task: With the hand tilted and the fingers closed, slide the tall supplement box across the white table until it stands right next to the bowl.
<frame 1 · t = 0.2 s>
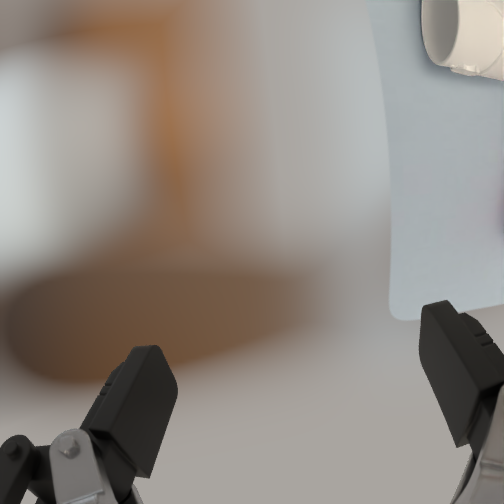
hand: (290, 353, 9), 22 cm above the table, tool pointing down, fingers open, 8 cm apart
mug: (458, 28, 21), on the table
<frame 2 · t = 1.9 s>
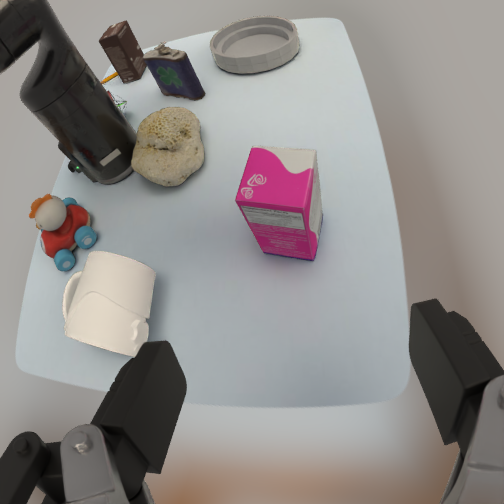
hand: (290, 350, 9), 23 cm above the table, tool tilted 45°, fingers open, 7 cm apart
supplement box: (292, 234, 36), on the table
box: (137, 73, 56), on the table
decorative item: (176, 157, 44), on the table
mug: (123, 311, 37), on the table
flask: (184, 93, 50), on the table
bowl: (257, 51, 50), on the table
pencil: (123, 69, 57), point 1 cm above the table
toy car: (73, 237, 43), on the table
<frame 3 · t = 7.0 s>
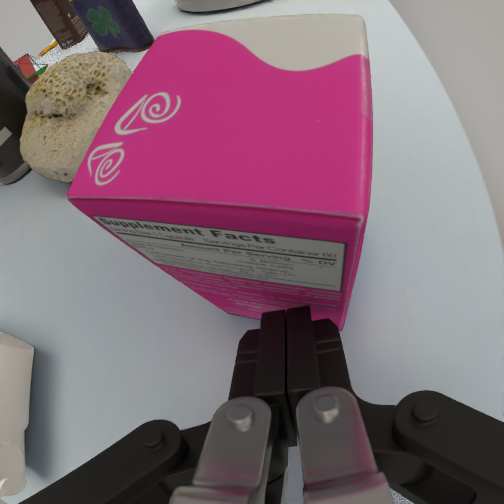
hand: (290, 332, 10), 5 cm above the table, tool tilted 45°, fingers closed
supplement box: (292, 269, 16), on the table, touching gripper
box: (81, 36, 36), on the table
decorative item: (95, 134, 24), on the table
mug: (8, 395, 17), on the table
flask: (127, 46, 30), on the table
pencil: (66, 34, 37), point 1 cm above the table
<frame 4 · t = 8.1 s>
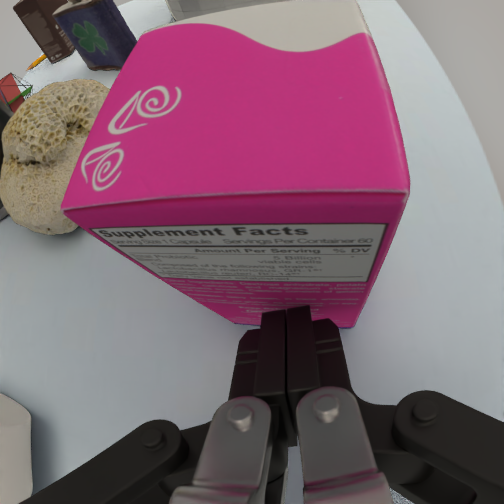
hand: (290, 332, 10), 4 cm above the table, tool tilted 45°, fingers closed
supplement box: (295, 270, 16), on the table, touching gripper
box: (71, 48, 34), on the table
decorative item: (82, 173, 22), on the table
mug: (9, 452, 15), on the table
flask: (118, 64, 27), on the table
pencil: (56, 46, 35), point 1 cm above the table
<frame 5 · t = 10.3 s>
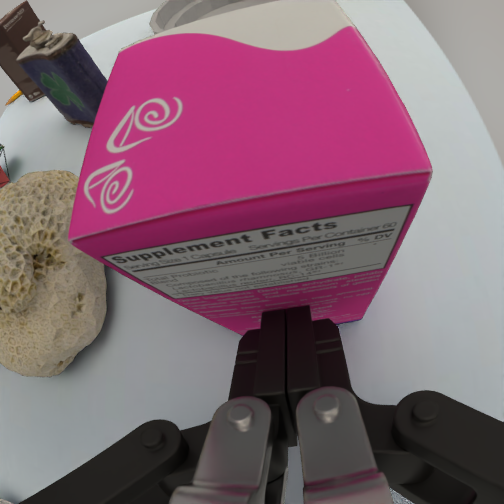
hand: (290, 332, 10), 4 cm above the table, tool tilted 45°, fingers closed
supplement box: (293, 273, 16), on the table, touching gripper
box: (51, 83, 31), on the table
decorative item: (64, 283, 18), on the table
flask: (99, 118, 24), on the table
bowl: (243, 27, 25), on the table
pencil: (36, 78, 32), point 1 cm above the table
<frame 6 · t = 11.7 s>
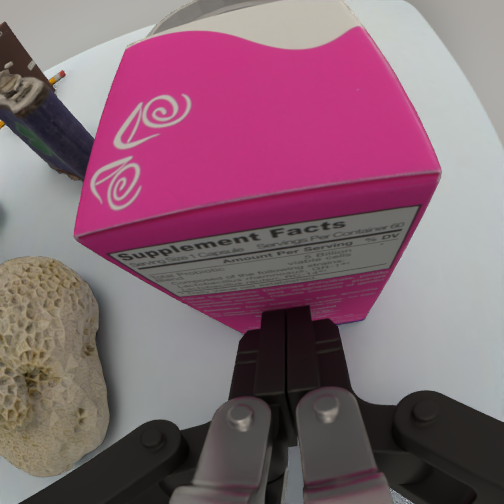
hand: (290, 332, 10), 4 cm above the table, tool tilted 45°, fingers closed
supplement box: (297, 272, 16), on the table, touching gripper
box: (37, 111, 29), on the table
decorative item: (61, 371, 16), on the table
flask: (86, 168, 22), on the table
bowl: (249, 56, 23), on the table
pencil: (22, 104, 30), point 1 cm above the table
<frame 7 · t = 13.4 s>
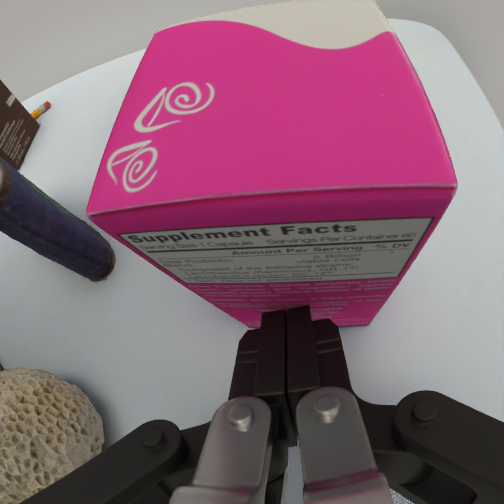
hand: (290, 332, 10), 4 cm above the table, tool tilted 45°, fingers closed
supplement box: (307, 271, 15), on the table, touching gripper
box: (21, 151, 26), on the table
decorative item: (69, 466, 14), on the table
flask: (74, 241, 19), on the table
pencil: (5, 139, 27), point 1 cm above the table
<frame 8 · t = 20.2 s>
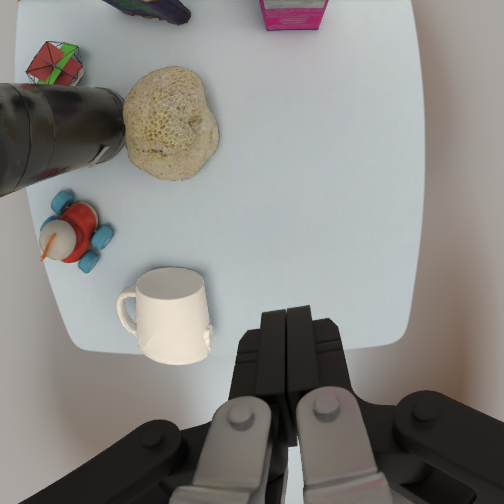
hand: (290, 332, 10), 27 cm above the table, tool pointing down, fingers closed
supplement box: (289, 9, 28), on the table
decorative item: (177, 122, 34), on the table
mug: (172, 297, 42), on the table
flask: (156, 10, 28), on the table
geometric puzzle: (23, 72, 25), point 7 cm above the table
toy car: (81, 228, 39), on the table
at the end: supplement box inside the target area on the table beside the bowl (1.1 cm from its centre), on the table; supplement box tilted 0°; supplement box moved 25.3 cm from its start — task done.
